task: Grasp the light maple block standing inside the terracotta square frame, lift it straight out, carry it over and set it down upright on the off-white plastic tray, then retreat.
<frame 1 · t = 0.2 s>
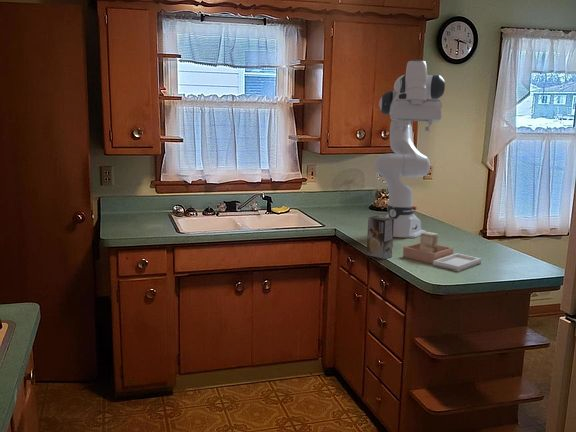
hand: (415, 131, 240), 51 cm above the counter, tool tilted 20°, fingers open, 8 cm apart
maple block: (427, 257, 246), resting in terracotta square frame
white tray: (457, 264, 236), on the counter
coffee box: (379, 256, 247), on the counter
terracotta square frame: (427, 256, 246), on the counter
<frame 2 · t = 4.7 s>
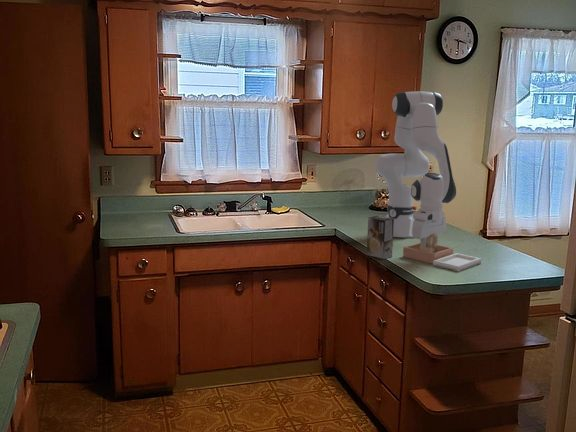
hand: (428, 246, 245), 5 cm above the counter, tool pointing down, fingers closed on maple block, 5 cm apart
maple block: (427, 257, 246), resting in terracotta square frame, touching gripper
everything else where it was.
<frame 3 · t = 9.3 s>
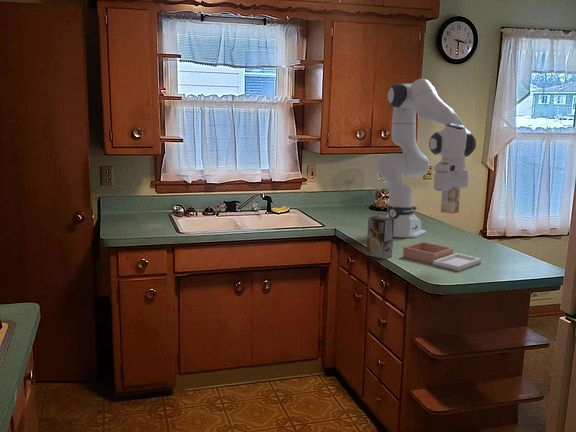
hand: (450, 200, 235), 25 cm above the counter, tool pointing down, fingers closed on maple block, 5 cm apart
maple block: (449, 212, 236), point 20 cm above the counter, touching gripper
everything else where it was.
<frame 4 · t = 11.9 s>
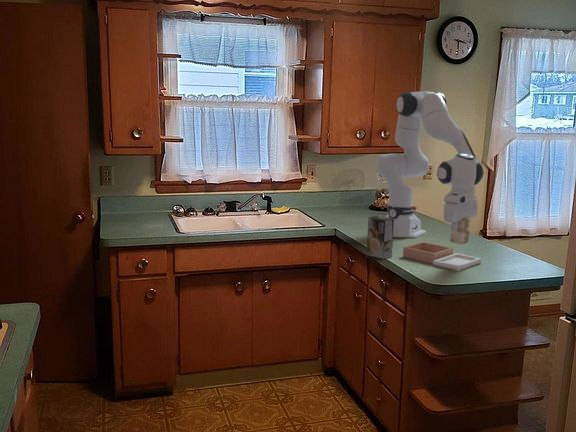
hand: (459, 230, 233), 14 cm above the counter, tool pointing down, fingers closed on maple block, 5 cm apart
maple block: (459, 242, 234), point 9 cm above the counter, touching gripper
everything else where it was.
when the fingers open (7 cm above the counter, at t = 14.1 s): maple block drops 1 cm, resting on white tray.
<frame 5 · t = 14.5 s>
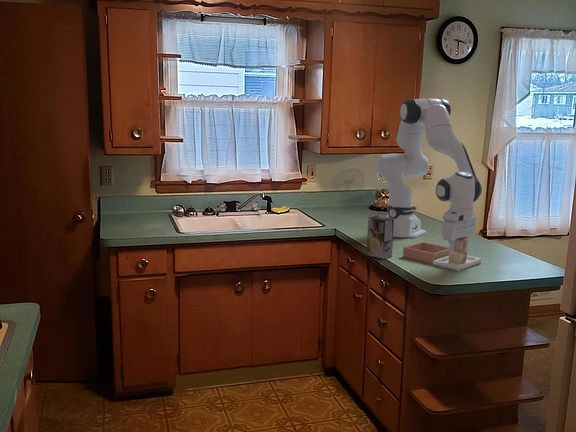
hand: (458, 248, 235), 7 cm above the counter, tool pointing down, fingers open, 8 cm apart
maple block: (457, 262, 236), point 1 cm above the counter, touching white tray
everything else where it was.
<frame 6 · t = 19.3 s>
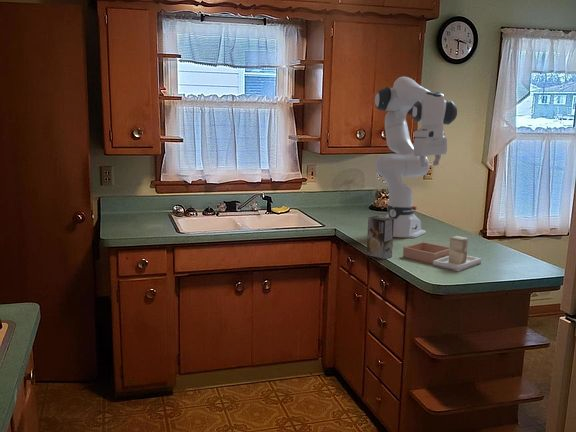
hand: (429, 166, 245), 37 cm above the counter, tool pointing down, fingers open, 8 cm apart
nothing on the counter moved.
at the end: maple block inside the target area on the white tray (0.0 cm from its centre), point 0.8 cm above the white tray's base; maple block tilted 0°; the gripper is holding nothing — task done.
